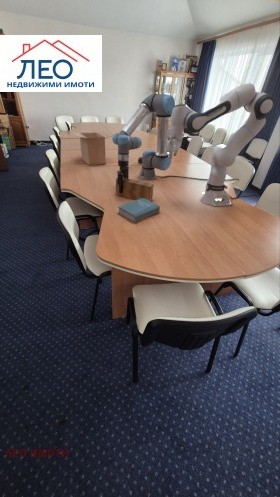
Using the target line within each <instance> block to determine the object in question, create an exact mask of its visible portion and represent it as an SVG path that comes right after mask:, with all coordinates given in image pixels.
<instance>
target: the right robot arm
mask: <svg viewBox="0 0 280 497" xmlns="http://www.w3.org/2000/svg"><path fill="white" fill-rule="evenodd" d="M218 101H219V102H218V103H217V104H216V105H215V106H213V107H211V108H209V109H208V110H205V111H204V112H197V111H195V110H193V109H192V108H190V107H189V106H188V105H187V104H185V103H180V104H179V103H178V104H175V107H174V108H173V111H172V115H171V117H170V125H169V130H168V146H167V152H168V153H169V159H171V160H173V157H177V155H178V152H179V149H181V147H182V143H183V139H184V136H185V132H184V131H185V129H187V130H188V131H189V132H190V133H192V134H198V133H199V132H201V131H203V129H204V128H205V127H206V126H207V125H208V124H210V123H212V122H214V121H216V120H217V119H219V118H221V117H222V116H224V115H227V114H230V113H232V112H235V111H238V110H239V109H241V108H244V110H245V111H246V112H248V113H249V115H248V117H247V119H246V120H245V121H244V122H243V123H242V124H241V125H240V126H239V127H238V128H237V129H236V130H235V131H234V132H233V133H232V134H231V136H230V139H229V140H228V142H227V143H226V144H218V145H216V146H215V147H214V148H213V150H212V156H211V164H210V172H209V177H208V179H209V180H207V183H206V186H205V191H203V192H201V193H202V194H203V195H202V197H201V202H202V203H204V204H207V205H210V206H212V207H226V206H232V203H233V202H232V201H231V200H236V199H239V198H248V197H253V196H255V197H258V195H256V194H251V195H241V196H237V197H232V195H230V194H229V193H228V192H227V190H228V188H229V187H228V185H226V184H225V180H226V177H227V169H228V168H229V167H232V166H233V165H234V163H235V161H236V159H237V157H238V155H239V154H240V153H241V151H242V150H243V149H244V148H245V146H246V145H247V144H249V142H251V140H253V139H254V138H255V137H256V136H257V135H258V133H259V132H260V131H261V130H262V129H263V128H264V127H265V125H266V122H267V120H266V119H267V117H268V116H269V114H270V113H271V112H272V110H273V108H274V106H275V99H274V97H273V96H272V95H271V94H269V93H266V92H263V91H261V92H259V91H256V87H255V85H254V84H253V83H251V82H247V83H244V84H241V85H238V86H236V87H233V88H231V89H230V90H228V91H227V92H225V93H224V94H223V95H221V97H220V98H219V100H218ZM169 138H170V139H169ZM230 199H231V200H230Z"/></svg>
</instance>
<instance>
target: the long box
mask: <svg viewBox="0 0 280 497" xmlns="http://www.w3.org/2000/svg"><path fill="white" fill-rule="evenodd" d="M117 180H118V177H117V178H115V195H116V196H119V197H124V198H126V199H131V200H134V201H135V200H138V199H141V198H144V199H146V200H149V201H151V202H153V196H154V187H155V186H154V185H155V183H149V182H147V181H146V182H145V181H141V180H136V179H132V178H129V179H127V178H124V177H123V183H122V185H123V193H119V185H118V184H117Z"/></svg>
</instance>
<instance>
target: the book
mask: <svg viewBox="0 0 280 497" xmlns="http://www.w3.org/2000/svg"><path fill="white" fill-rule="evenodd" d="M117 208H118V212H117V214H118V215H120V216H122V217H123V218H125V219H127V220H128V221H130V222H132V223H136V222H139V221H141V220H143V219H146V218H148V217H150V216H153V215H155V214H157V213H159V212H161V211H160V209H161V206H160V205H159V204H157V203H155V202H154V201H149V200H146V199H144V198H141V199H138V200H135V199H134V200H133V201H130V202H127V203H124V204H121V205H118V207H117Z"/></svg>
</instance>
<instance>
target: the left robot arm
mask: <svg viewBox="0 0 280 497" xmlns="http://www.w3.org/2000/svg"><path fill="white" fill-rule="evenodd" d="M175 106H176V100H175V98H174V96H173V95H171V94H167V93H155V92H154V93H151V94H149V95H148V96H147V97H146V98H144V99H143V100H142V101H141V103H140V104H139V105H138V108H137V110H136V111H135V112H134V114H133V115H132V116H131V117H130V118H129V120H128V121H127V122H126V123H125V125H124V126H123V127H122V129H121V130H120V131H119V132H117V133H114V134H113V135H112V136H113V137H111V139H112V143H113V144H114V145H116V146H117V166H118V167H119V170H117V171H116V172H117V178H118V180H117V184H118V185H119V193H123V185H122V183H123V178H127V179H130V178H129V177H130V176H129V174H130V173H129V172H130V171H129V170H130V167H129V165H130V164H129V163H130V151H132V150H137V149H140V148H141V147H142V144H143V143H142V141H143V140H142V139H141V138H140V137H139V136H132V135H133V134H134V132H135V131H136V130H137V129H138V127H140V125H141V123H142V122H143V121H144V120H145V118H146V117H148V116H149V115H150V114H152V113H155V117H156V119H157V131H156V132H157V133H156V150H153V149H151V150H145V151H143V152H142V156H141V157H142V164H141V169H140V172H139V178H140V179H142V180H146V181H154V180H156V178H161V179H163V178H168V177H170V178H171V177H172V178H183V179H190V180H199V181H208V180H209V178H200V177H199V178H197V177H191V176H190V177H187V176H181V175H165V176H161V175H157V174H156V169H157V170H158V171H159V170H160V171H167V170H168V169H169V168H170V166H171V164H172V159H169V153H168V152H167V147H168V141H169V131H170V119H171V116H172V111H173V108H174V107H175ZM235 180H236V181H240V179H239V178H232V179H231V178H230V179H225V181H226V182H228V181H235ZM225 181H224V182H225Z"/></svg>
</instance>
